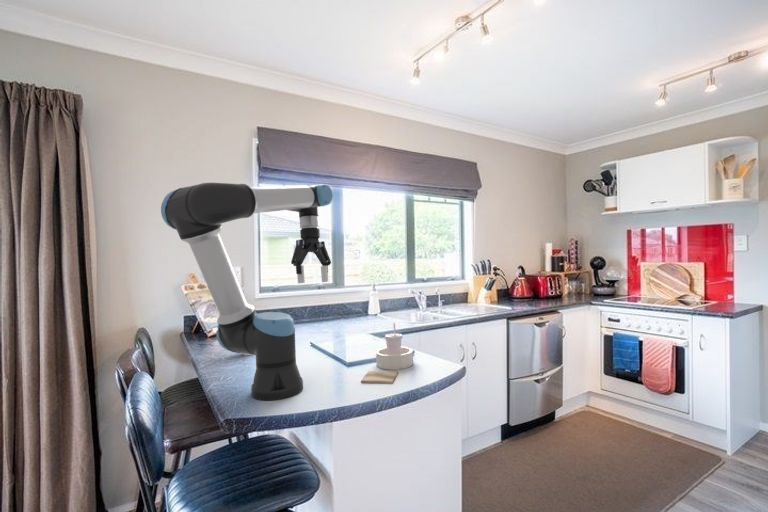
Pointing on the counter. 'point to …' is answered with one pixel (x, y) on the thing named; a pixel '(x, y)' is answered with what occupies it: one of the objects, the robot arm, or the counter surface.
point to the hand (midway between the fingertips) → (313, 282)
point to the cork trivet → (380, 377)
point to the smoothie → (393, 343)
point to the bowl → (394, 359)
